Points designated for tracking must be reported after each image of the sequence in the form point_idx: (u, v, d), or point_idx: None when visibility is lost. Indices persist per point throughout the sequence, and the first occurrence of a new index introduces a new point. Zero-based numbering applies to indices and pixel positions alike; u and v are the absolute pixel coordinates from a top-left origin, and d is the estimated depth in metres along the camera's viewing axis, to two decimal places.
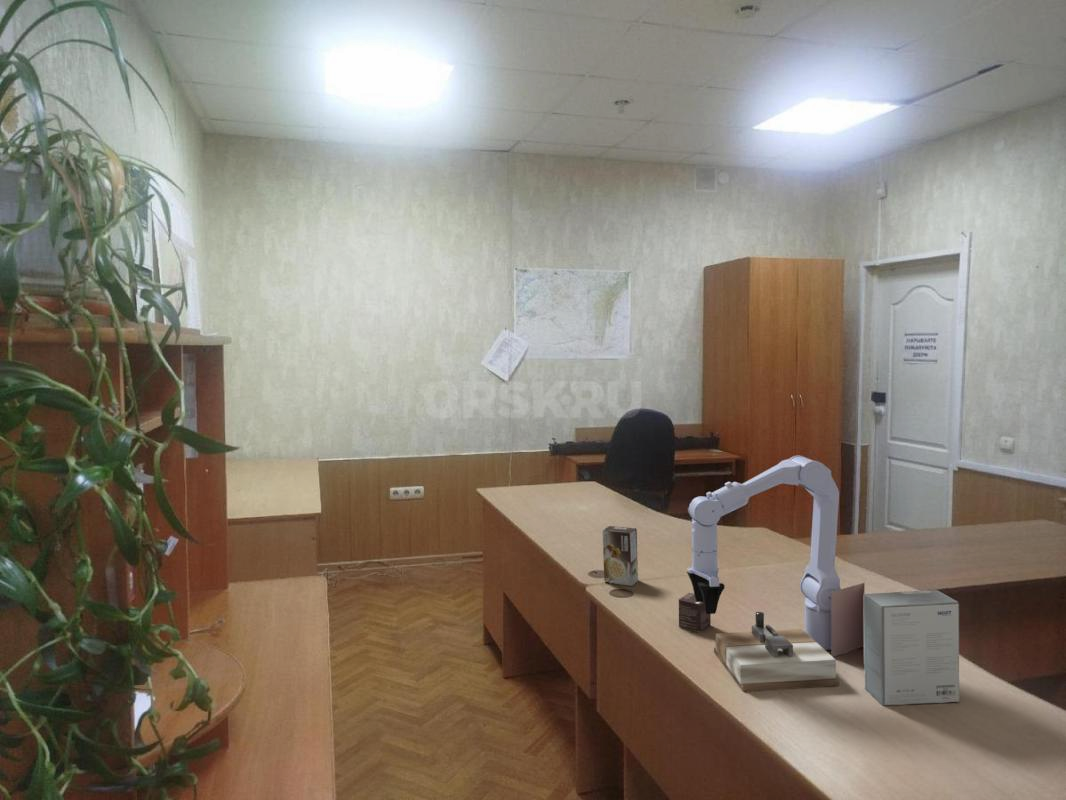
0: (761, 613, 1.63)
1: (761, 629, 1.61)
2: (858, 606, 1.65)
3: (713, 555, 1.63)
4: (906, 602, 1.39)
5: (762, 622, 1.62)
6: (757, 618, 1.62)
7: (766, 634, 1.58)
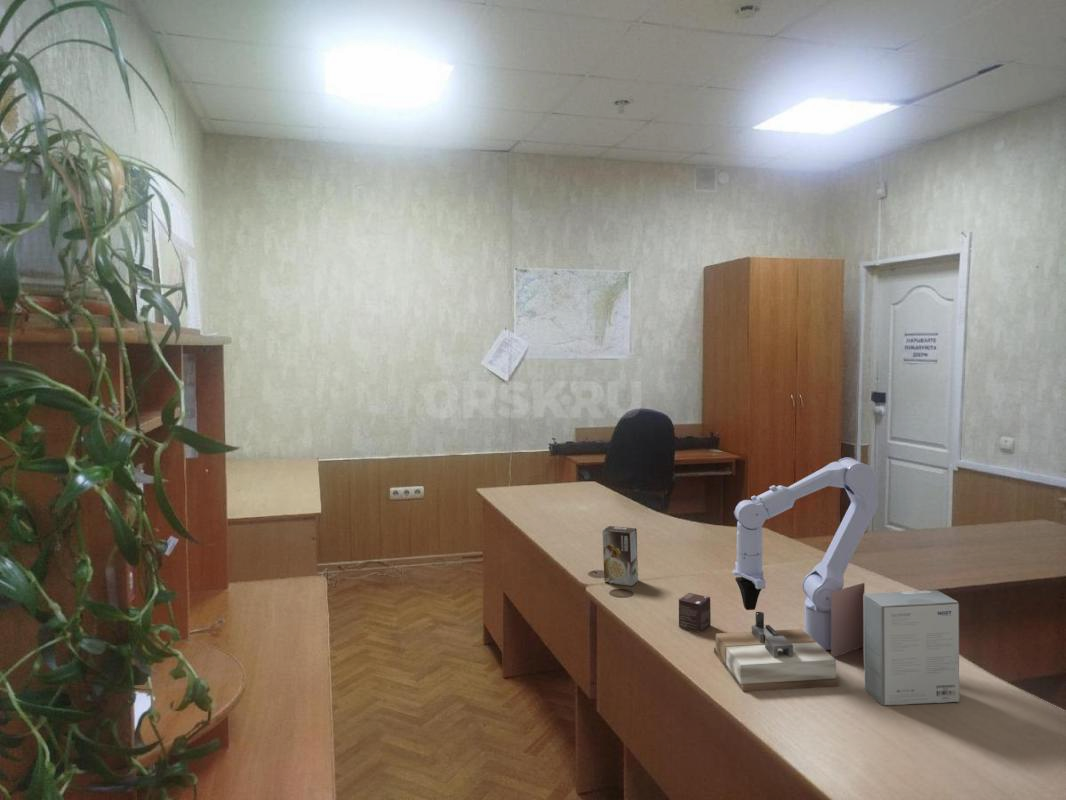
0: (761, 613, 1.63)
1: (761, 629, 1.61)
2: (858, 606, 1.65)
3: (758, 558, 1.66)
4: (907, 602, 1.39)
5: (762, 622, 1.62)
6: (757, 618, 1.62)
7: (766, 634, 1.58)
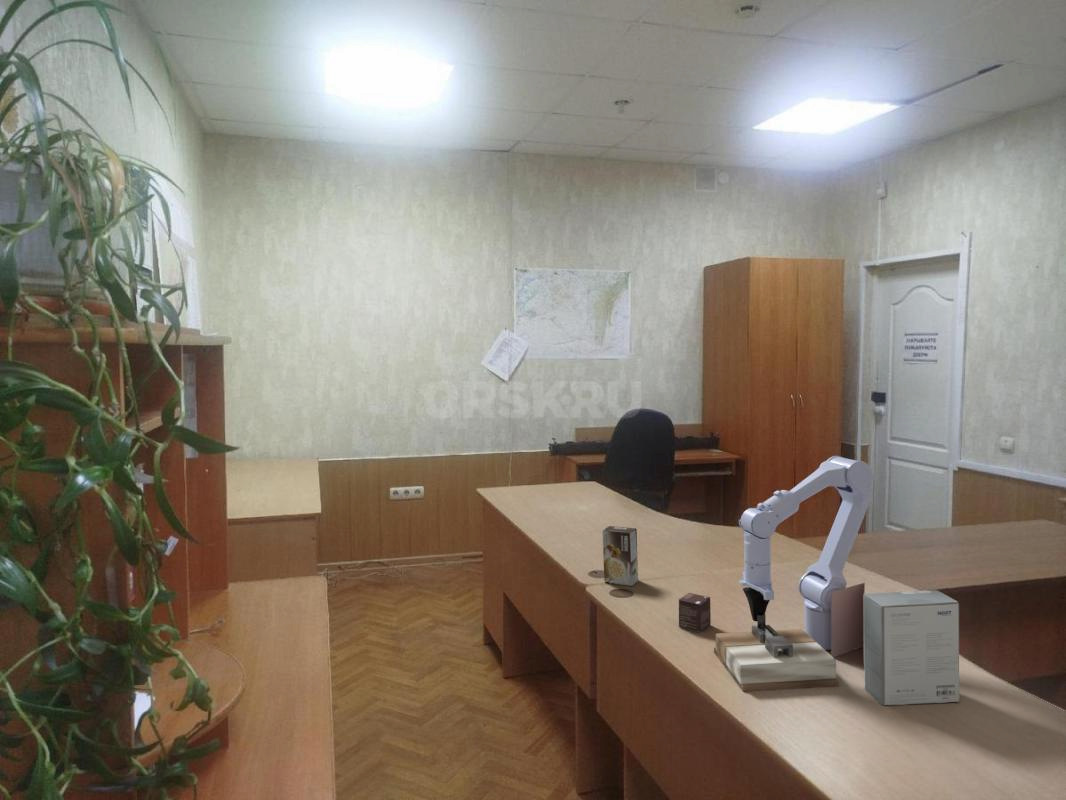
0: (763, 615, 1.62)
1: (763, 631, 1.60)
2: (858, 606, 1.65)
3: (767, 568, 1.61)
4: (906, 602, 1.39)
5: (764, 623, 1.61)
6: (759, 620, 1.61)
7: (768, 636, 1.57)
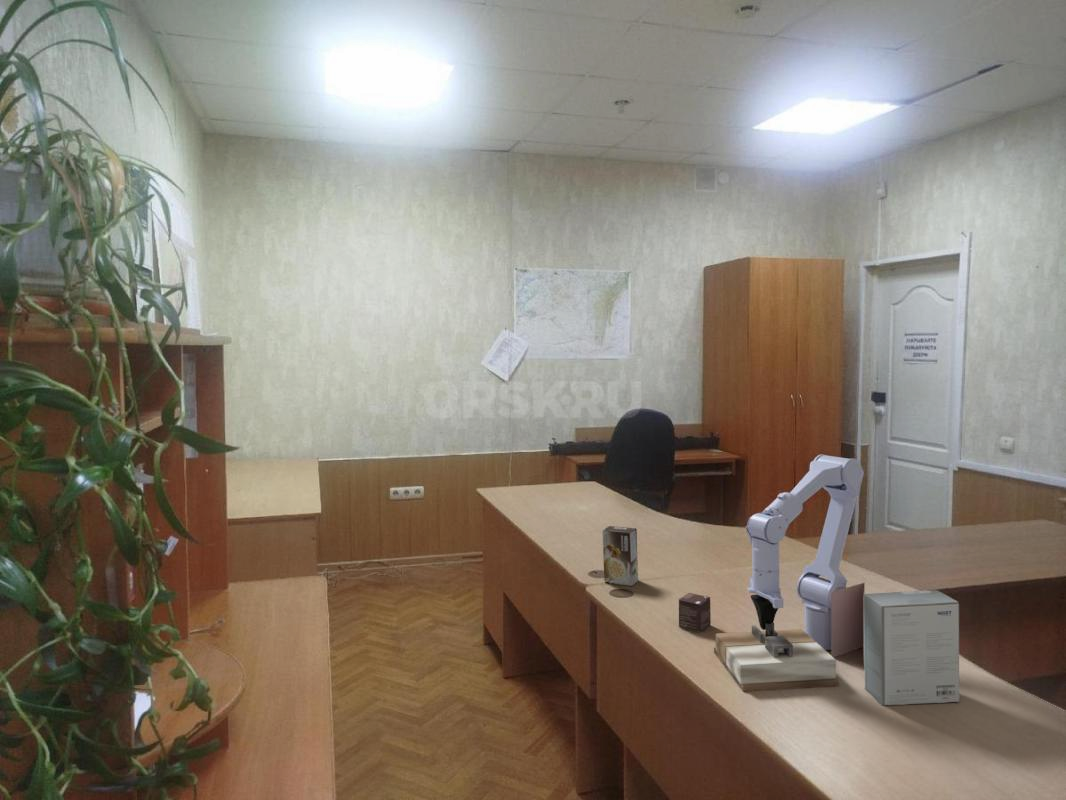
0: (771, 623, 1.57)
1: None
2: (858, 606, 1.65)
3: (775, 574, 1.56)
4: (907, 602, 1.39)
5: (772, 632, 1.56)
6: (767, 628, 1.57)
7: None
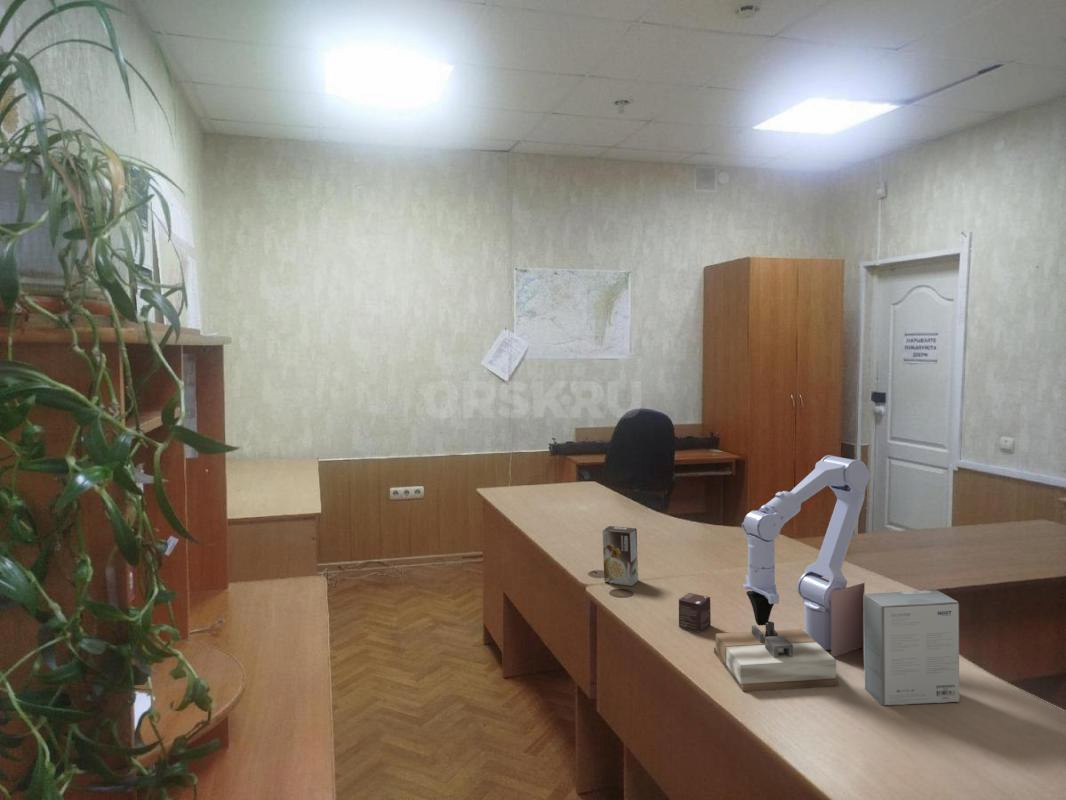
0: (771, 623, 1.57)
1: None
2: (858, 606, 1.65)
3: (771, 571, 1.59)
4: (907, 602, 1.39)
5: (772, 632, 1.56)
6: (767, 628, 1.57)
7: None
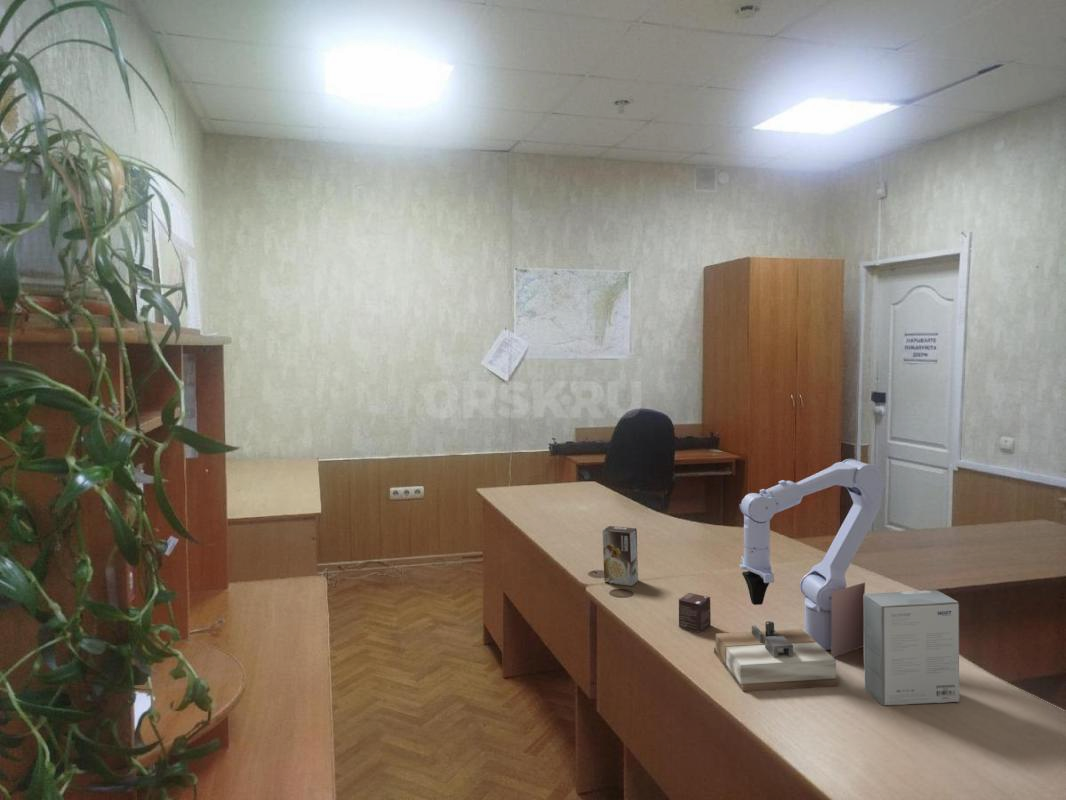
0: (771, 623, 1.57)
1: None
2: (858, 606, 1.64)
3: (766, 551, 1.63)
4: (907, 602, 1.39)
5: (772, 632, 1.56)
6: (767, 628, 1.57)
7: None
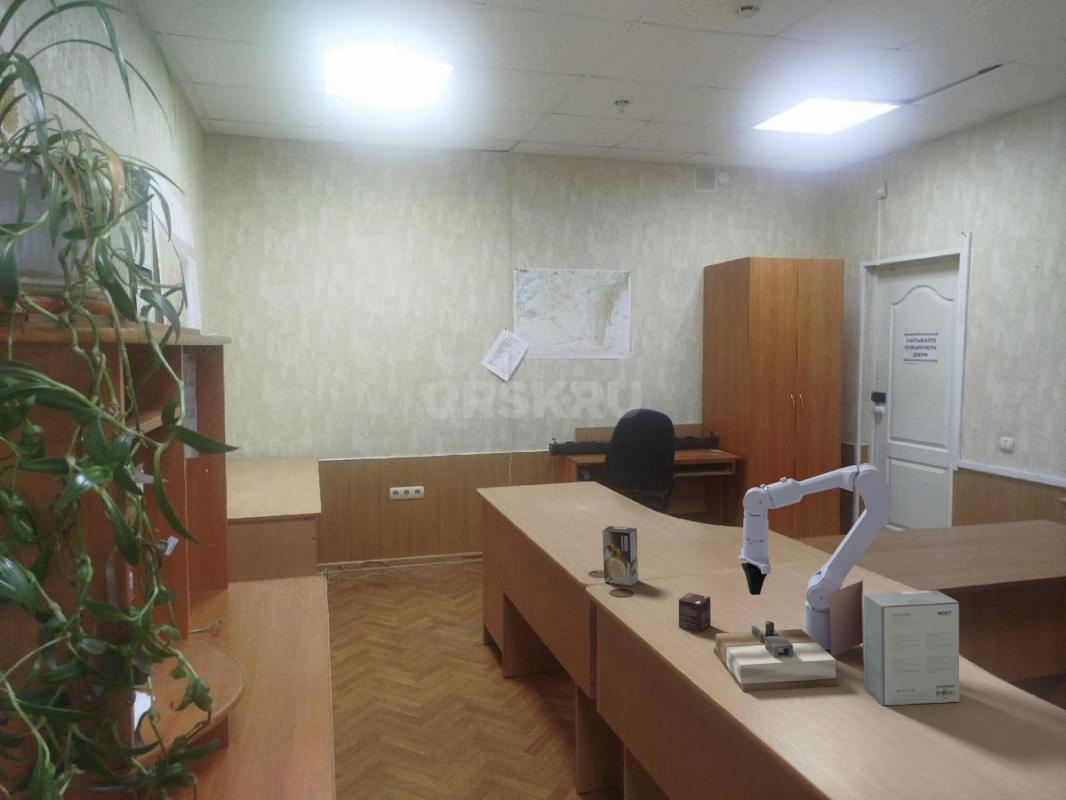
0: (771, 623, 1.57)
1: None
2: (857, 604, 1.64)
3: (764, 544, 1.69)
4: (907, 602, 1.39)
5: (772, 632, 1.56)
6: (767, 628, 1.57)
7: None
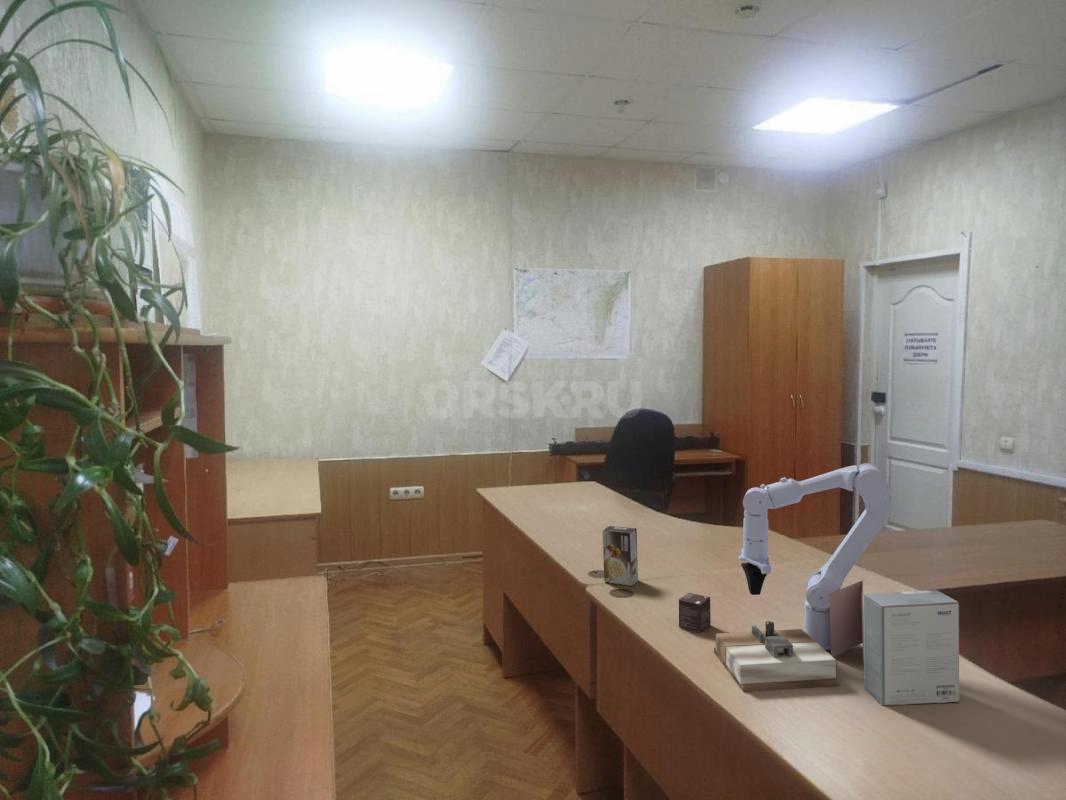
0: (771, 623, 1.57)
1: None
2: (857, 604, 1.64)
3: (764, 544, 1.69)
4: (906, 602, 1.39)
5: (772, 632, 1.56)
6: (767, 628, 1.57)
7: None
